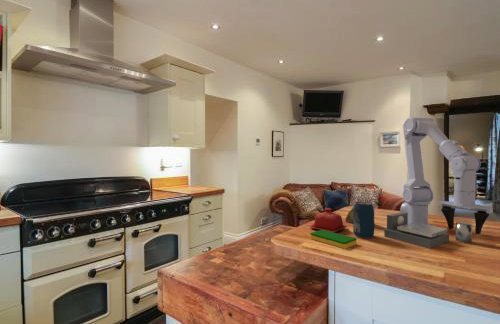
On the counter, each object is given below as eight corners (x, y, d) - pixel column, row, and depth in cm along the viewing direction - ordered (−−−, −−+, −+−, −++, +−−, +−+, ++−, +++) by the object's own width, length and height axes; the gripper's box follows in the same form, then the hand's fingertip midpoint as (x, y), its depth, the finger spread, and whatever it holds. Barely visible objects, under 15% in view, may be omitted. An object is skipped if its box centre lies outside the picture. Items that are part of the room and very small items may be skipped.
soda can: (375, 235, 101) (376, 202, 101) (372, 240, 96) (372, 205, 95) (355, 232, 105) (356, 200, 105) (351, 236, 99) (351, 203, 99)
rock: (338, 216, 121) (356, 218, 112) (345, 199, 124) (363, 200, 115) (354, 229, 124) (373, 231, 115) (360, 212, 127) (379, 213, 118)
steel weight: (453, 240, 95) (453, 222, 95) (458, 238, 97) (459, 221, 97) (468, 243, 91) (469, 225, 91) (474, 241, 93) (474, 223, 93)
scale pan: (393, 228, 98) (393, 225, 98) (410, 224, 104) (410, 221, 104) (431, 237, 87) (431, 234, 87) (447, 231, 93) (447, 229, 93)
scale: (384, 236, 100) (384, 215, 99) (404, 230, 106) (404, 211, 106) (429, 248, 87) (430, 224, 87) (449, 241, 94) (449, 219, 94)
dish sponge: (322, 235, 102) (322, 229, 102) (357, 245, 91) (357, 238, 91) (309, 239, 98) (309, 232, 98) (344, 250, 87) (344, 242, 87)
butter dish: (307, 229, 110) (307, 208, 110) (323, 224, 118) (323, 204, 118) (334, 235, 102) (334, 212, 102) (348, 229, 110) (349, 208, 110)
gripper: (435, 189, 98) (434, 228, 98) (486, 194, 85) (486, 238, 86) (444, 188, 101) (444, 225, 102) (495, 192, 89) (495, 234, 89)
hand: (464, 231), depth 94 cm, fingers open, 7 cm apart
